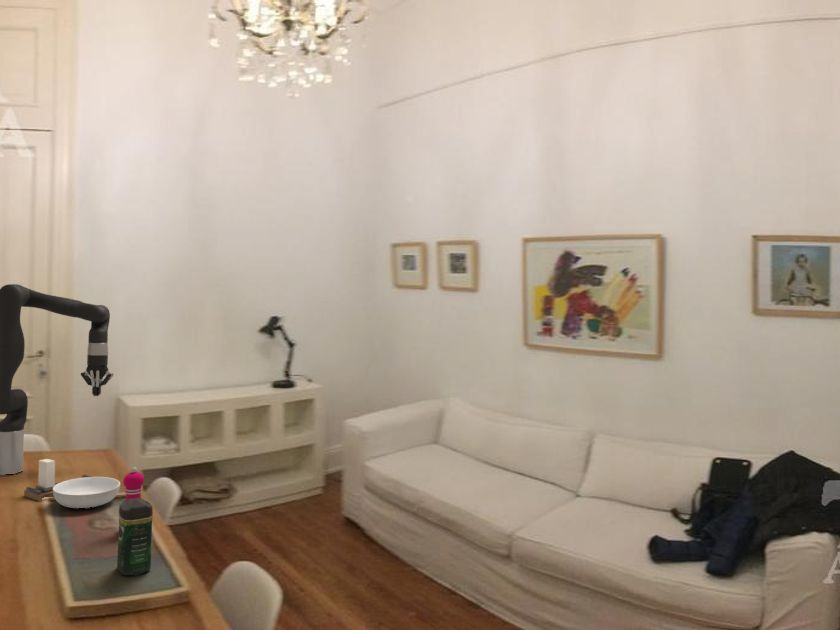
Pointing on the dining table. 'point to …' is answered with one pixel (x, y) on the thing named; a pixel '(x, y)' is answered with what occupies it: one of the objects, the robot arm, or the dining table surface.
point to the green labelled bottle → (134, 536)
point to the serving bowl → (86, 491)
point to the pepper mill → (133, 484)
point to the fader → (46, 475)
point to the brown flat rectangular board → (41, 492)
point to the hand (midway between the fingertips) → (96, 395)
